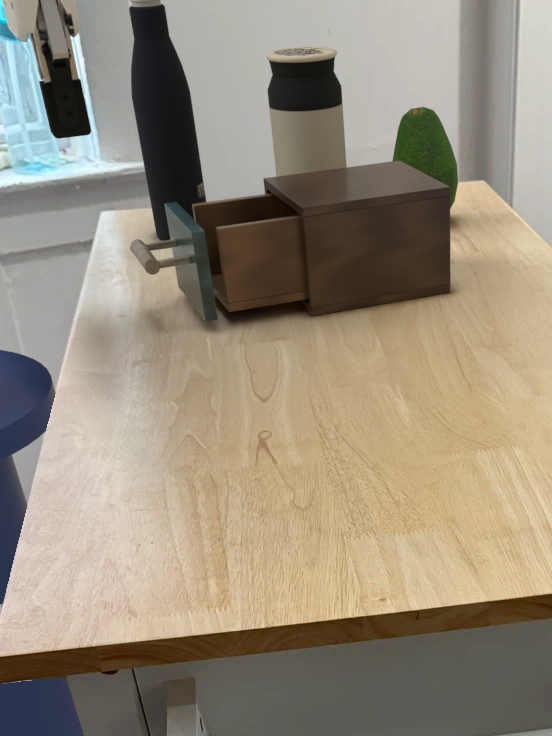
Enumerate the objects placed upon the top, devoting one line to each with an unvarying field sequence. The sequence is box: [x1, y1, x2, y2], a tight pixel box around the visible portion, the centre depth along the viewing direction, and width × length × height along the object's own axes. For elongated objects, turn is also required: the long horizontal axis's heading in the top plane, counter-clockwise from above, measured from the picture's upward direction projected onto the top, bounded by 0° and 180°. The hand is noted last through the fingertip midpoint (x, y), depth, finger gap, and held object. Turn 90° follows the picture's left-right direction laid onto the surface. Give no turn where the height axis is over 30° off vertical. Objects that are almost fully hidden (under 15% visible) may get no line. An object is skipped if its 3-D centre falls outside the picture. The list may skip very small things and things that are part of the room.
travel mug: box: [265, 46, 348, 177], centre depth 113 cm, size 8×8×18 cm
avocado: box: [392, 106, 459, 210], centre depth 117 cm, size 8×8×12 cm
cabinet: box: [262, 160, 451, 317], centre depth 101 cm, size 15×13×10 cm
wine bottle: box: [128, 0, 207, 241], centre depth 111 cm, size 6×6×30 cm
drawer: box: [129, 193, 308, 323], centre depth 97 cm, size 18×11×8 cm, turn 112°
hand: (71, 134), depth 86 cm, fingers closed
